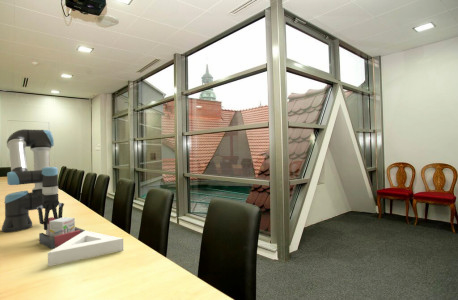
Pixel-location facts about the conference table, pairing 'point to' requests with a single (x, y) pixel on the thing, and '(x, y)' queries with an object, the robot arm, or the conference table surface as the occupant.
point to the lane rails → (51, 239)
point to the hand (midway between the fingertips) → (51, 234)
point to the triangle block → (84, 247)
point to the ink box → (61, 226)
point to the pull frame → (63, 235)
